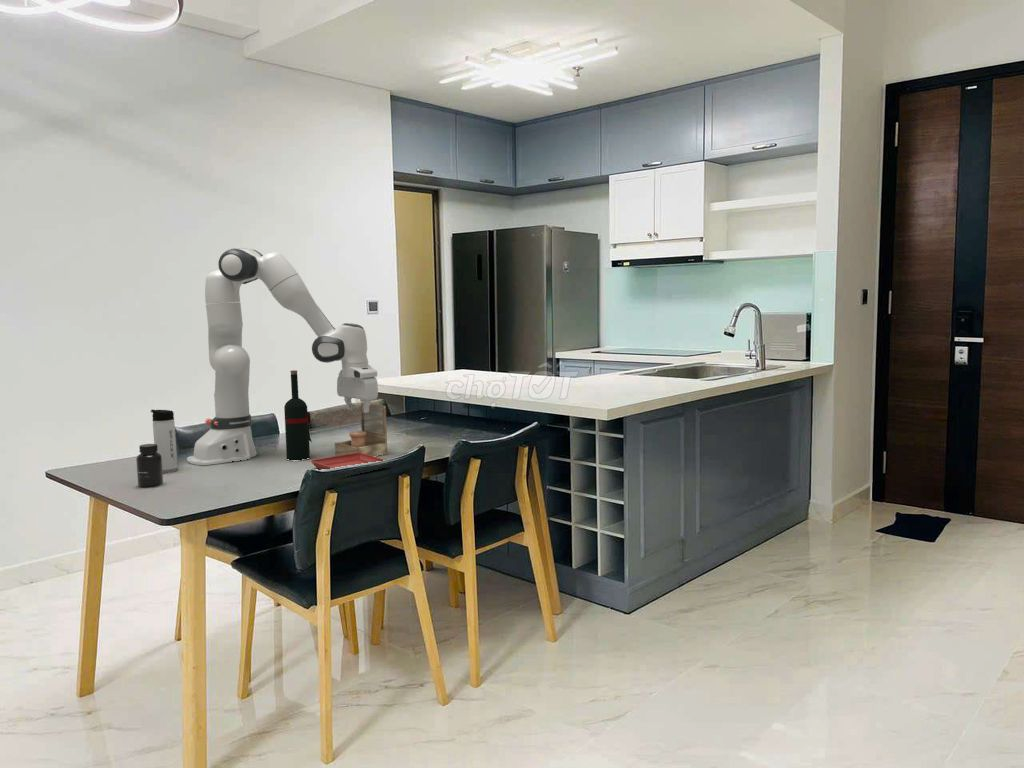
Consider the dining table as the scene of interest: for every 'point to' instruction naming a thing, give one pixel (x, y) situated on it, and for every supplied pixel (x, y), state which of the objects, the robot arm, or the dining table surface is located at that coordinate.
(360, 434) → the terracotta pot
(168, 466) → the travel mug
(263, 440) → the dining table surface
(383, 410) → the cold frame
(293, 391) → the wine bottle
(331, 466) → the plant saucer
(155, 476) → the supplement bottle
